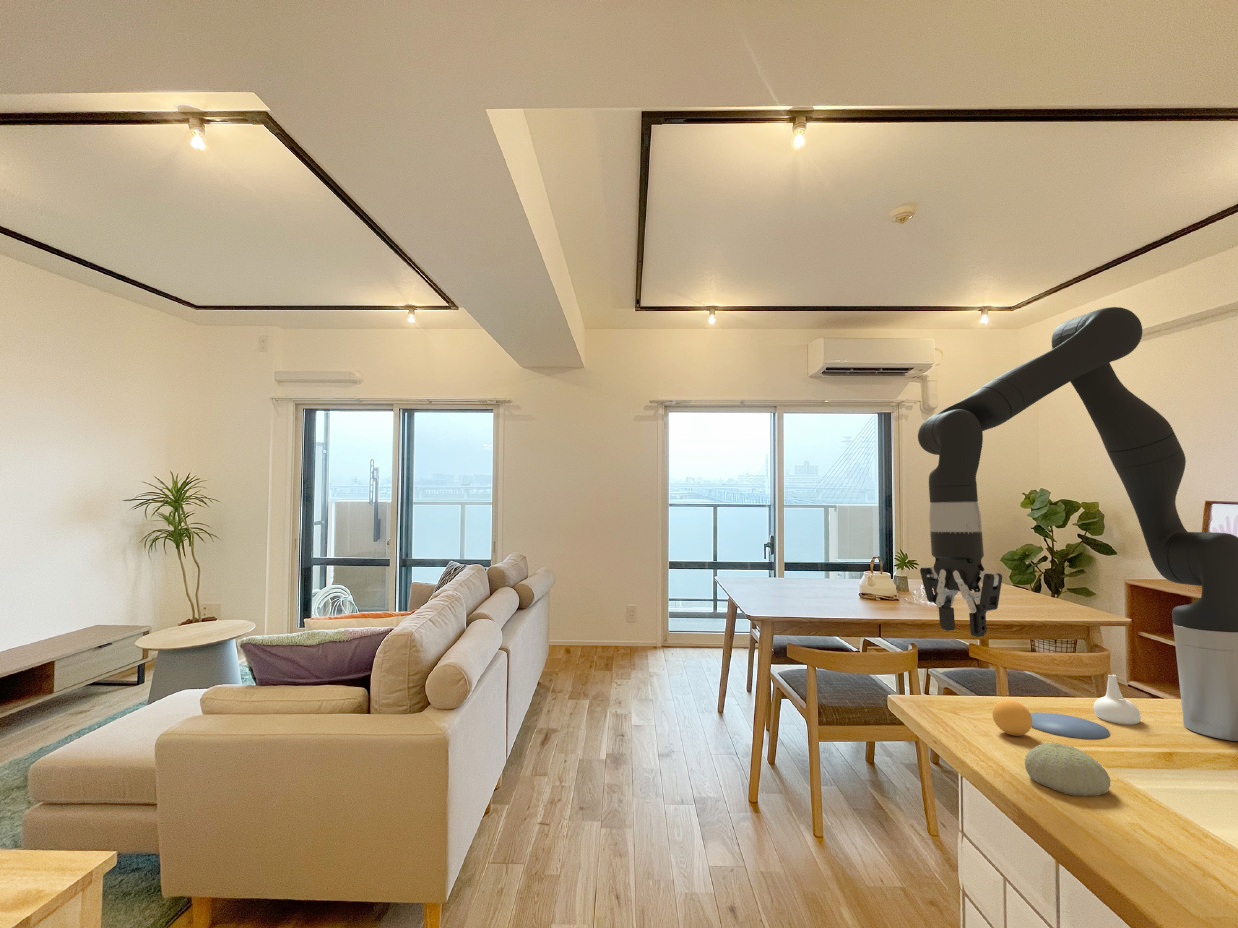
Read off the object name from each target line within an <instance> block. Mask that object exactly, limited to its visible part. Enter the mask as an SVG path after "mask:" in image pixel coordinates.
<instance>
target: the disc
mask: <svg viewBox="0 0 1238 928" xmlns="http://www.w3.org/2000/svg"><path fill="white" fill-rule="evenodd" d="M1030 714H1031V717H1032V727H1031V728H1033V729H1035V728H1036V729H1035V730H1038V731H1042V732H1043V733H1044V732H1045V733H1048V734H1052V735H1056V736H1060V737H1067V738H1072V739H1073V738H1074V739H1080V738H1082V739H1083V740H1100V739H1105V738H1107V737H1109V736H1110V734H1111V733H1110V731H1109V729H1108V728H1107V727H1105V725H1104V726H1103V725H1101V724H1099V723H1097V722H1095V721H1091V720H1088V719H1085V718H1082V717H1078V716H1074V715H1073V716H1072V715H1067V714H1062V713H1061V714H1060V713H1055V712H1054V713H1053V712H1030ZM1082 739H1081V740H1082Z"/></svg>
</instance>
